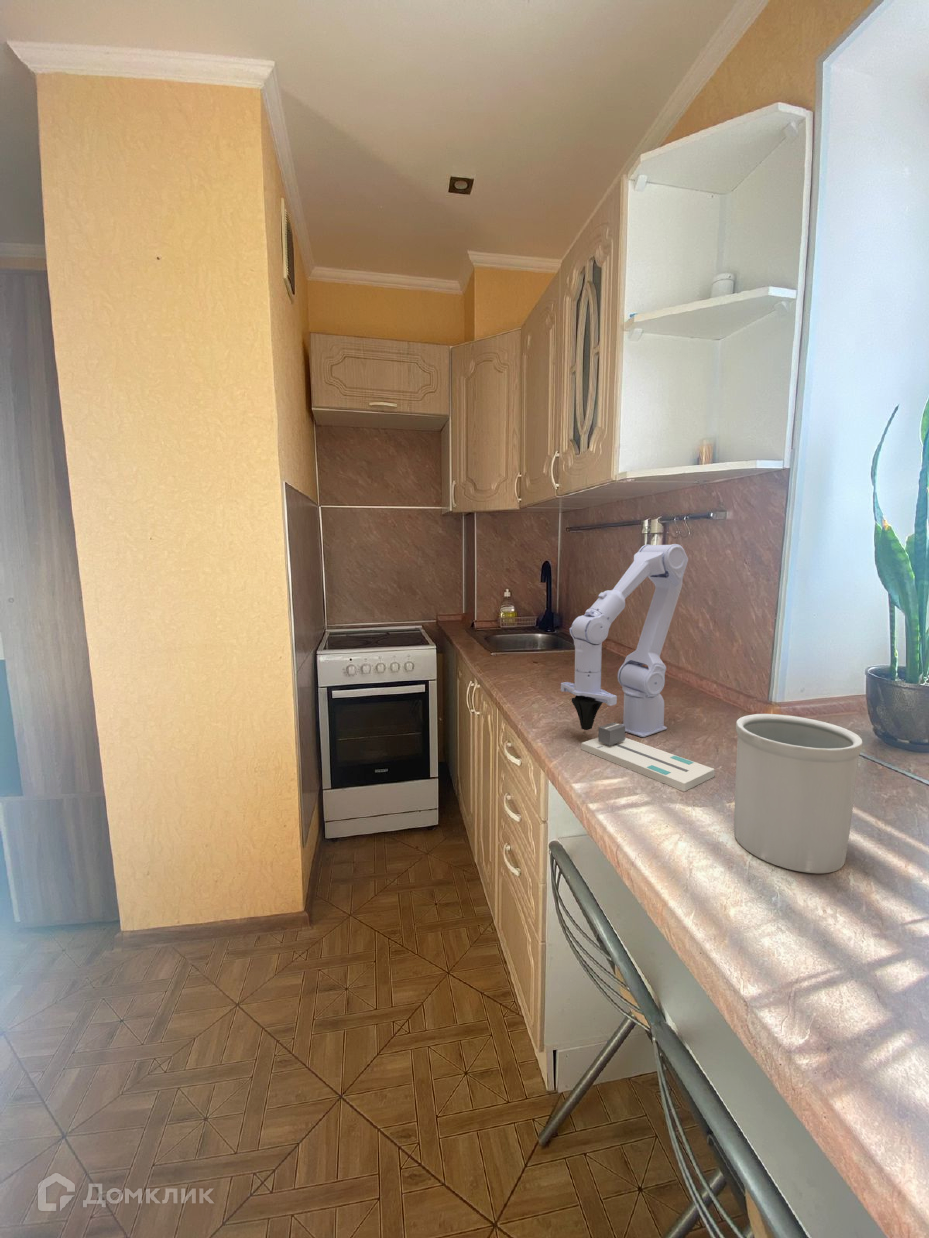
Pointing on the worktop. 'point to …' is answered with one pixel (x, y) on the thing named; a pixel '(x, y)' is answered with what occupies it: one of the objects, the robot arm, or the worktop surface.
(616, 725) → the fader
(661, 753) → the mixer panel
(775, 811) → the utensil holder
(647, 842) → the worktop surface
